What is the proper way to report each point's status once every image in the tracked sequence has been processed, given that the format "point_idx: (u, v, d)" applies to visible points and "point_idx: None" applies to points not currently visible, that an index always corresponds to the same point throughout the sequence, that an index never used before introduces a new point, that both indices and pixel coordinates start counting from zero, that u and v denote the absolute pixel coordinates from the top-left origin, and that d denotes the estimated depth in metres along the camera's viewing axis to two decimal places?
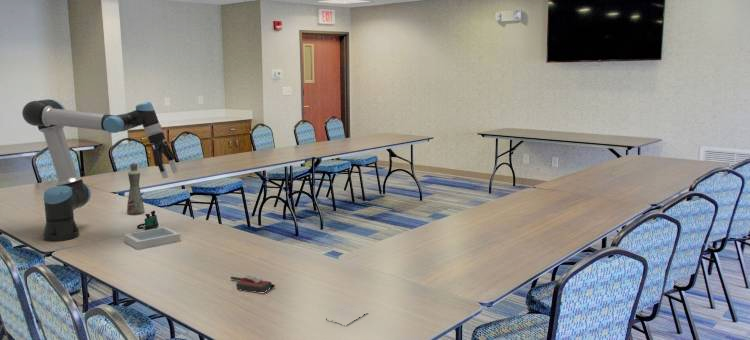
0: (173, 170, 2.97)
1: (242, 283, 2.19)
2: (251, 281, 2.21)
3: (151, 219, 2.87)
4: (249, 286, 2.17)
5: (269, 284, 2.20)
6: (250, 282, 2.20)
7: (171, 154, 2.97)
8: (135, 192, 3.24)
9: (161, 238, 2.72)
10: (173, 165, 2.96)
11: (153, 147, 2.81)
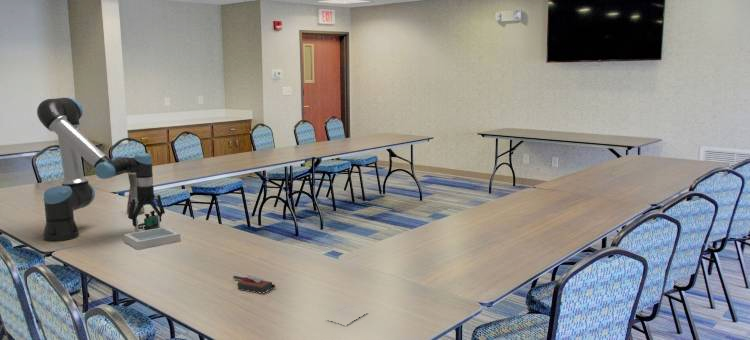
0: None
1: (243, 283, 2.19)
2: (252, 281, 2.21)
3: (150, 219, 2.87)
4: (250, 286, 2.18)
5: (269, 284, 2.19)
6: (251, 282, 2.20)
7: (161, 209, 2.93)
8: (135, 192, 3.24)
9: (161, 238, 2.72)
10: (157, 221, 2.93)
11: (131, 200, 2.84)
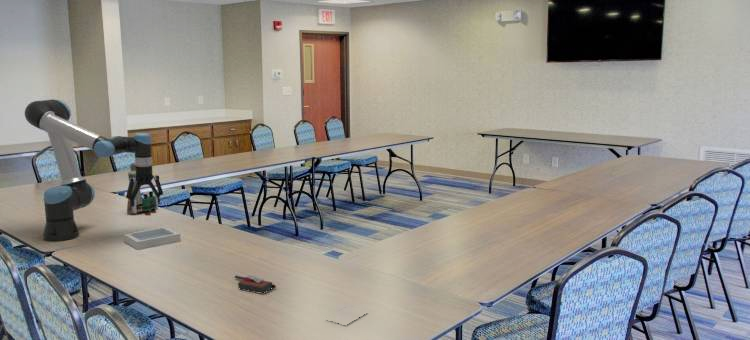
0: None
1: (243, 282, 2.19)
2: (252, 281, 2.21)
3: (149, 199, 2.85)
4: (250, 285, 2.18)
5: (270, 284, 2.19)
6: (251, 282, 2.20)
7: (159, 190, 2.92)
8: None
9: (161, 238, 2.72)
10: (155, 202, 2.91)
11: (129, 180, 2.82)
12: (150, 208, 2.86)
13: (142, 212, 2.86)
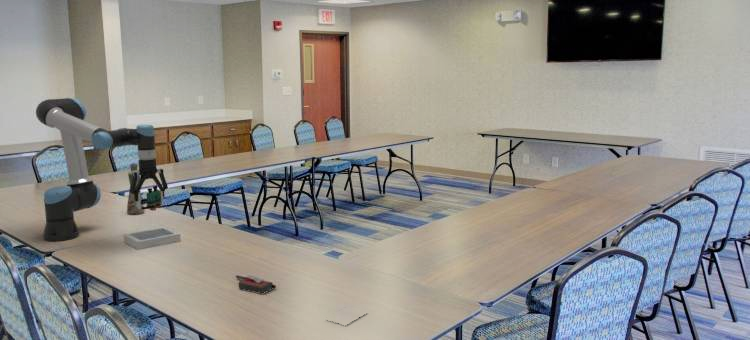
0: None
1: (244, 282, 2.20)
2: (253, 281, 2.21)
3: (153, 194, 2.74)
4: (250, 285, 2.18)
5: (270, 285, 2.19)
6: (251, 282, 2.20)
7: (164, 184, 2.80)
8: None
9: (161, 238, 2.72)
10: (160, 196, 2.80)
11: (133, 174, 2.70)
12: (155, 203, 2.75)
13: (147, 207, 2.74)
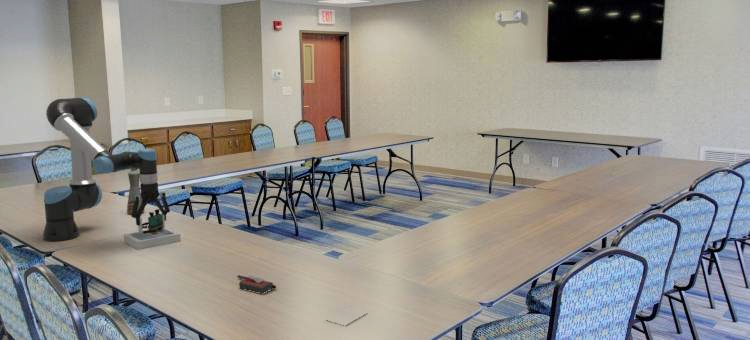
0: None
1: (244, 282, 2.20)
2: (253, 281, 2.21)
3: (155, 218, 2.73)
4: (250, 285, 2.18)
5: (270, 285, 2.19)
6: (252, 282, 2.20)
7: (166, 208, 2.79)
8: (135, 192, 3.24)
9: (161, 238, 2.72)
10: (162, 220, 2.79)
11: (134, 198, 2.69)
12: (157, 227, 2.73)
13: (148, 231, 2.73)
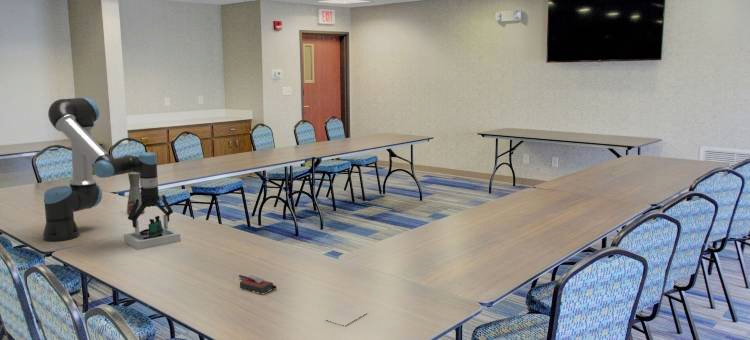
0: (164, 225, 2.81)
1: (244, 282, 2.20)
2: (254, 281, 2.21)
3: (155, 225, 2.73)
4: (250, 285, 2.18)
5: (270, 285, 2.18)
6: (252, 282, 2.20)
7: (168, 209, 2.80)
8: (135, 192, 3.24)
9: (161, 238, 2.72)
10: (165, 221, 2.80)
11: (134, 201, 2.69)
12: (157, 233, 2.74)
13: (149, 238, 2.74)
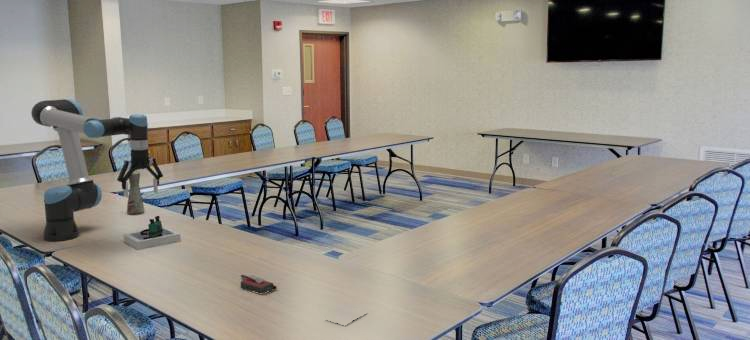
0: (154, 189, 2.80)
1: (245, 282, 2.20)
2: (254, 281, 2.21)
3: (155, 225, 2.73)
4: (251, 285, 2.18)
5: (270, 285, 2.18)
6: (253, 282, 2.20)
7: (158, 173, 2.79)
8: (135, 192, 3.24)
9: (161, 238, 2.72)
10: (154, 184, 2.79)
11: (124, 162, 2.68)
12: (157, 233, 2.74)
13: (149, 238, 2.74)
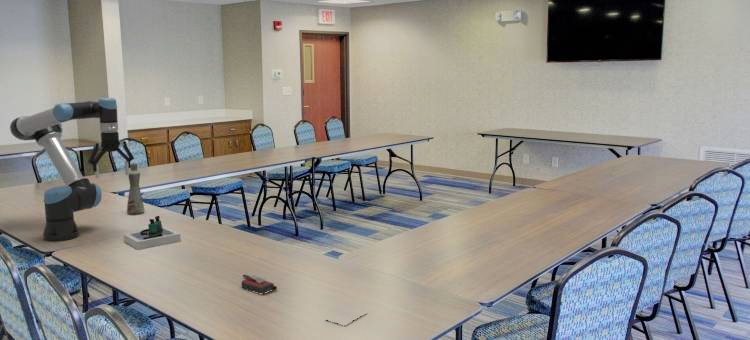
0: (125, 171, 2.85)
1: (246, 282, 2.20)
2: (255, 281, 2.21)
3: (155, 225, 2.73)
4: (251, 285, 2.18)
5: (270, 286, 2.18)
6: (253, 282, 2.20)
7: (129, 155, 2.84)
8: (135, 192, 3.24)
9: (161, 238, 2.72)
10: (126, 167, 2.84)
11: (94, 145, 2.74)
12: (157, 233, 2.74)
13: (149, 238, 2.74)
